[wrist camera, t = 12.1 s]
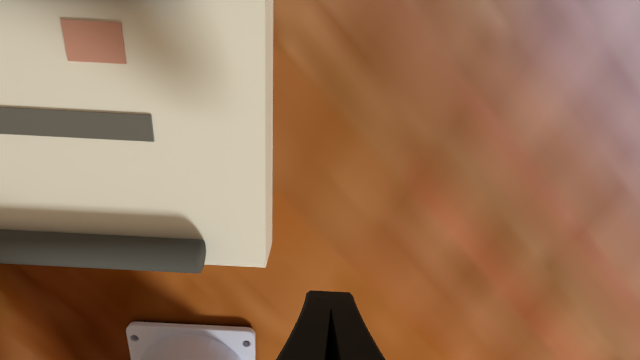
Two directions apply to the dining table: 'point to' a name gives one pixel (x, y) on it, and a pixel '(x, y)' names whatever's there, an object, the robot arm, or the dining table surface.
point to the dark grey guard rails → (102, 251)
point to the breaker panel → (140, 121)
